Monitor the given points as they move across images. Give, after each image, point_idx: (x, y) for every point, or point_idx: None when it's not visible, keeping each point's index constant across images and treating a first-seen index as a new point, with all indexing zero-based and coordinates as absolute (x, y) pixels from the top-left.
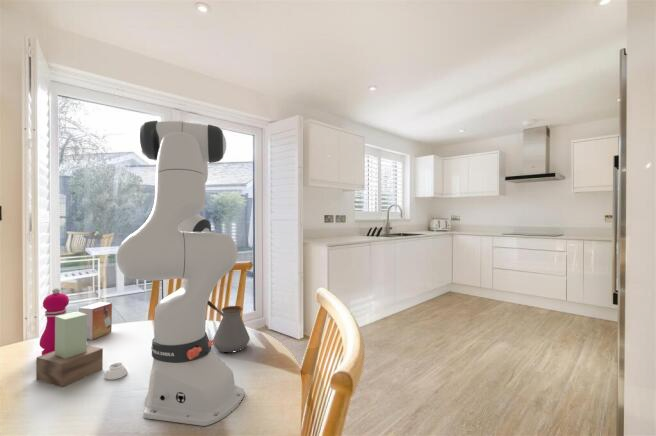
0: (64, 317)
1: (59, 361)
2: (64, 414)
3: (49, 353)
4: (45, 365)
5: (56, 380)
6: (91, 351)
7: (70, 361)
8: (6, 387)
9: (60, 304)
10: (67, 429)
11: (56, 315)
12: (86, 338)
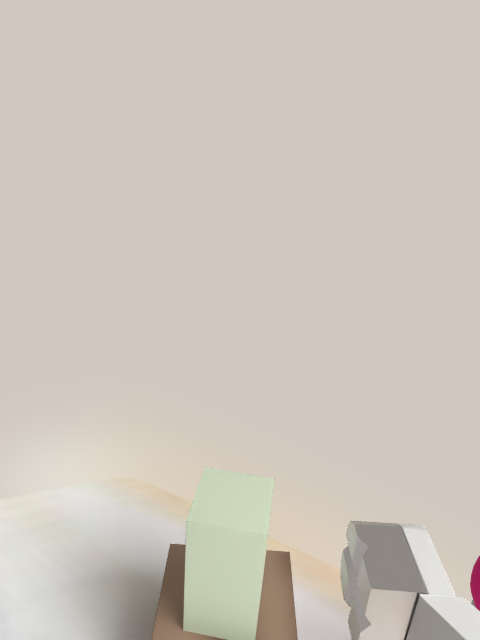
0: (229, 478)
1: None
2: (62, 522)
3: (285, 579)
4: None
5: None
6: (164, 635)
7: (166, 563)
8: (300, 553)
9: (473, 588)
10: (20, 497)
11: None
12: (185, 594)
